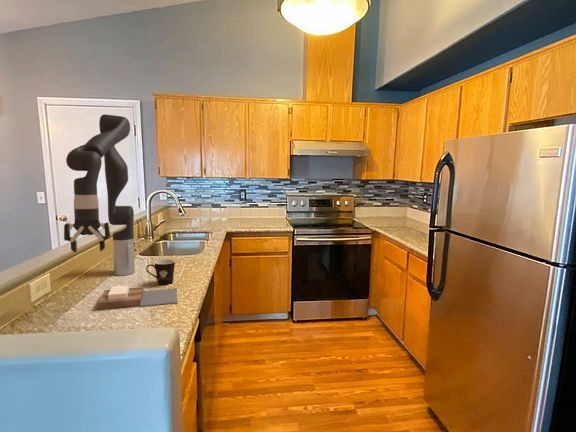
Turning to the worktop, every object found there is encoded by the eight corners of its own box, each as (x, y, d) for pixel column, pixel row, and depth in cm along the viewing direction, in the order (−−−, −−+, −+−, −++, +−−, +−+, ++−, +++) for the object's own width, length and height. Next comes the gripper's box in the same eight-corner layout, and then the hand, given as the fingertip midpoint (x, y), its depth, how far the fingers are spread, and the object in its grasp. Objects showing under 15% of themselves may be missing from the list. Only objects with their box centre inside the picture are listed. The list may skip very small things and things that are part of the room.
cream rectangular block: (112, 291, 127) (112, 286, 126) (129, 290, 129) (129, 285, 129) (108, 300, 118) (107, 294, 118) (126, 298, 120) (126, 293, 120)
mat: (143, 292, 134) (143, 290, 134) (176, 289, 138) (176, 288, 138) (140, 306, 119) (140, 305, 119) (177, 303, 123) (177, 301, 123)
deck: (105, 296, 128) (105, 290, 128) (143, 292, 133) (143, 287, 133) (97, 310, 115) (97, 303, 115) (140, 305, 120) (140, 299, 120)
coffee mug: (179, 281, 149) (178, 260, 148) (167, 287, 141) (167, 265, 139) (157, 278, 152) (157, 257, 151) (145, 284, 144) (144, 262, 142)
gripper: (110, 206, 122) (111, 248, 124) (66, 206, 117) (68, 250, 119) (106, 208, 115) (108, 252, 117) (59, 208, 110) (62, 254, 112)
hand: (88, 251), depth 118 cm, fingers open, 8 cm apart
